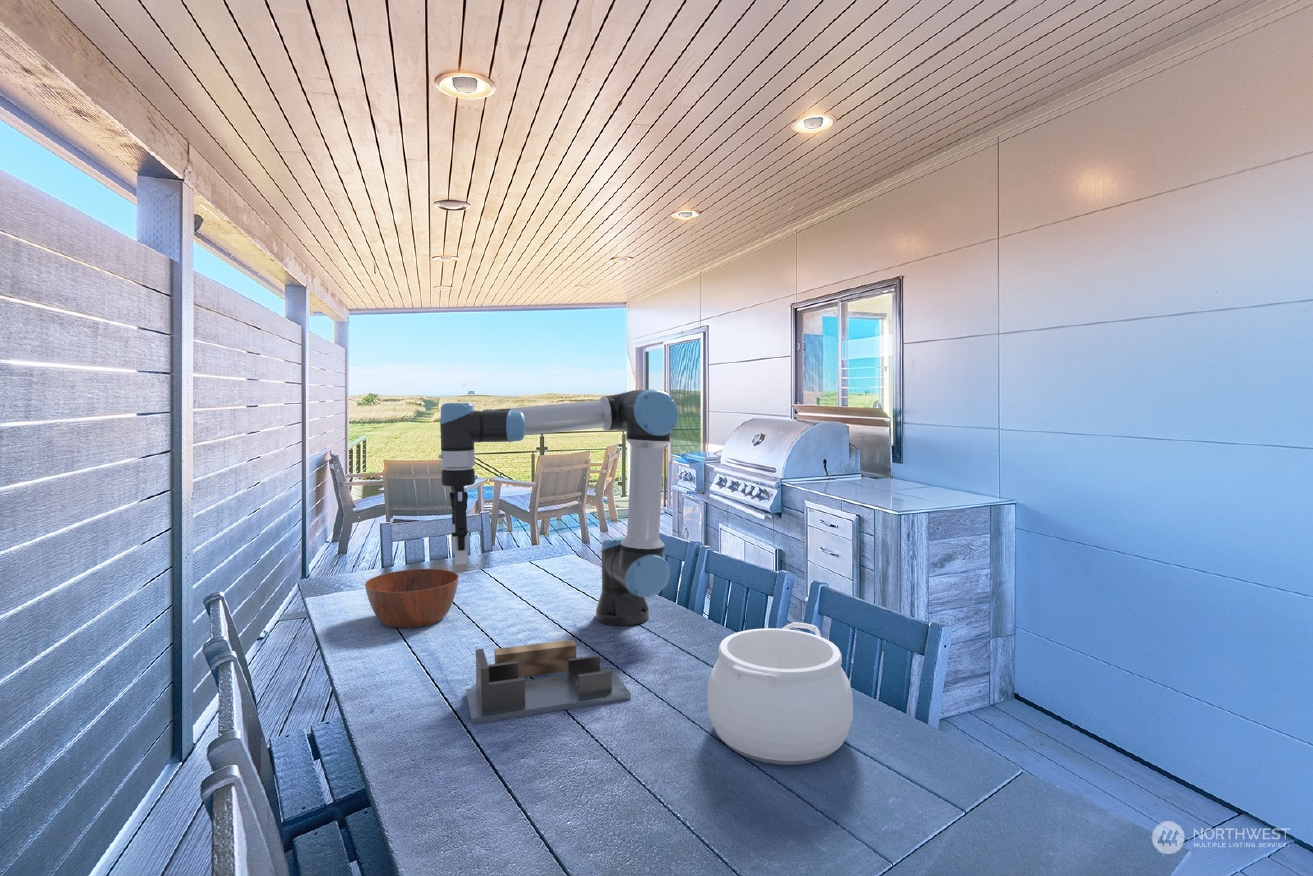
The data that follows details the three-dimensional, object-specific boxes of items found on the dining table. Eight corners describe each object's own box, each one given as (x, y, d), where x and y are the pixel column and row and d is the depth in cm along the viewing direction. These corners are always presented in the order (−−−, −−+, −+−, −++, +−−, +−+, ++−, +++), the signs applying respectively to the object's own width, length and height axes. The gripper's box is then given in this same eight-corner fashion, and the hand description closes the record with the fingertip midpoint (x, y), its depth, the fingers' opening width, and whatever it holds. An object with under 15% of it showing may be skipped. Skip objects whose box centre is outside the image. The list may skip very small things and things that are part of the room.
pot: (823, 797, 107) (824, 689, 106) (677, 750, 121) (677, 655, 120) (871, 722, 131) (872, 634, 130) (745, 691, 145) (746, 611, 144)
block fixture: (611, 673, 154) (611, 630, 154) (630, 699, 141) (630, 651, 141) (466, 694, 143) (465, 648, 143) (471, 724, 130) (471, 673, 130)
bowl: (345, 627, 186) (344, 586, 185) (410, 602, 209) (409, 565, 208) (417, 640, 176) (416, 596, 176) (477, 611, 199) (476, 573, 199)
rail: (572, 664, 160) (572, 639, 160) (576, 670, 157) (576, 645, 156) (494, 674, 154) (494, 649, 154) (496, 681, 151) (496, 655, 150)
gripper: (440, 464, 171) (441, 547, 172) (442, 474, 147) (444, 571, 148) (471, 463, 173) (472, 545, 174) (478, 473, 150) (480, 568, 151)
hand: (459, 557), depth 161 cm, fingers open, 13 cm apart
